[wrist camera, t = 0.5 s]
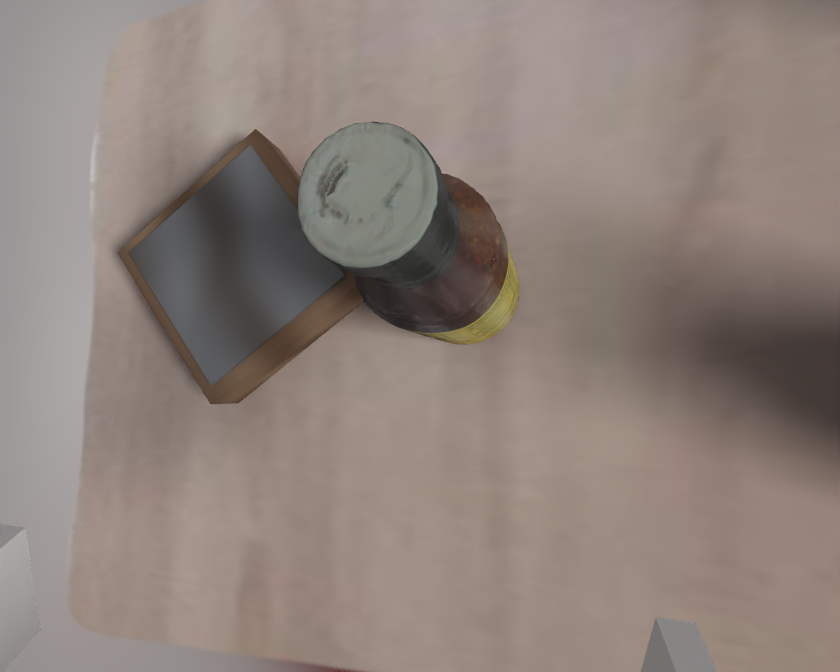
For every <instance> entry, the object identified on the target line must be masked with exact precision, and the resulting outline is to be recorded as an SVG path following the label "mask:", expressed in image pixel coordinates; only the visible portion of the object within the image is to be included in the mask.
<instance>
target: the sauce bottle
mask: <svg viewBox="0 0 840 672" xmlns="http://www.w3.org/2000/svg"><path fill="white" fill-rule="evenodd" d="M297 213H298V218H299V221H300V224H301V228H302V232H303V234H304V236H305V237H306V239H307V240H308V242H309V243H310V245H311V246H312V247H313V248H314V249H315V250H316V251H317V252H318V253H320V254H321V255H322V256H323V257H324V258H325V259H327V260H328V261H330V262H332V263H333V264H335V265H336V266H337V267H338V268H340V269H342V270H344V271H347V272H349V273H351V274H354V279H355V283H356V285H357V288H358V290H359V293H360V295H361V296H362V298H363V299H364V301H365V302H366V304H367V305H368V306H369V307H370V308H371V309H372V310H373V311H374V312H375V313H376V314H377V315H378V316H379V317H381V318H382V319H384V320H385V321H387V322H389V323H391V324H392V325H394V326H397V327H399V328H402V329H405V330H408V331H411V332H415V333H418V334H421V335H424V336H427V337H431V338H435V339H438V340H441V341H445V342H449V343H453V344H461V345H468V344H475V343H478V342H481V341H484V340H486V339H488V338H490V337H492V336H494V335H495V334H497V333H498V332H499V331H501V330H502V329H503V328H504V327H505V326H506V325H507V324H508V323H509V321H510V319H511V317H512V316H513V314H514V311H515V309H516V306H517V303H518V300H519V279H518V274H517V271H516V268H515V265H514V262H513V259H512V256H511V253H510V250H509V247H508V244H507V241H506V238H505V235H504V232H503V230H502V228H501V226H500V224H499V223H498V222H497V220H496V216H495V215H494V213H493V211H492V210H491V208H490V206H489V204H488V203H487V202H486V201H485V199H484V198H483V196H482V195H480V194H479V193H478V192H476V190H475V189H474V188H472V187H470V186H469V185H468V184H467V183H465V182H463V181H462V180H460V179H459V178H456V177H453V176H450V175H448V174H442V173H441V170H440V168H439V166H438V165H437V164H436V162H435V160H434V159H433V157H432V156H431V154H430V153H429V151H428V150H427V149H426V148H425V146H424V145H423V144H422V143H421V142H420V141H419V140H418V139H417V138H416V137H415V136H414V135H413V134H411V133H410V132H408V131H406V130H405V129H403V128H401V127H398V126H396V125H393V124H389V123H378V122H368V123H355V124H353V125H350V126H347V127H345V128H342V129H340V130H339V131H337V132H336V133H334V134H332V135H331V136H329V137H327V138H326V139H325V140H324V141H323V142H322V143H321V144H320V145H319V146H318V147H317V148H316V149H315V150H314V151H313V152H312V154H311V156H310V157H309V159H308V160H307V161H306V164H305V166H304V168H303V172H302V176H301V178H300V181H299V187H298V193H297Z"/></svg>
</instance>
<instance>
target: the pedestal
mask: <svg viewBox="0 0 840 672" xmlns="http://www.w3.org/2000/svg"><path fill="white" fill-rule="evenodd" d="M299 181H300V177H299V175H298V174H297V173H296V171H295V170H294V168H293V167H292V166H291V164H290V163H289V162H288V160H287V159H286V158H285V156H284V155H283V153H282V152H281V151H280V149H279V148H278V147H276V146H275V145H274V144H273V143H272V142H270V141H269V140H268V139H267V138H266V137H265V136H263V135H262V134H261V133H260V132H259V131H257V130H256V129H255V130H254V131H253V132H252V133H251V134H249V135H248V136H247V137H246V138H245V139H244V140H243V141H242V142H240V143H239V144H238V145H237V146H236V147H235V148H234V149H233V150H232V151H230V152H229V153H228V154H227V155H226V156H225V157H224V158H223V159H221V160H220V161H219V162H218V163H217V164H216V165H215V166H214V167H213V168H211V169H210V170H209V171H208V172H207V173H206V174H205V175H204V176H202V177H201V178H200V179H199V180H198V181H197V182H196V183H195V184H194V185H192V186H191V187H190V188H189V189H188V190H187V191H186V192H185V193H183V194H182V195H181V196H180V197H179V198H178V199H177V200H176V201H175V202H173V203H172V204H171V205H170V206H169V207H168V208H167V209H166V210H164V211H163V212H162V213H161V214H160V215H159V216H158V217H157V218H155V219H154V220H153V221H152V222H151V223H150V224H149V225H148V226H147V227H145V228H144V229H143V230H142V231H141V232H140V233H139V234H138V235H136V236H135V237H134V238H133V239H132V240H131V241H130V242H129V243H128V244H126V245H125V246H124V247H123V248H122V249H121V250H120V251H119V252H117V253H118V254H119V256H120V258H121V259H122V261H123V263H124V264H125V266H126V267H127V269H128V271H129V272H130V274H131V276H132V277H133V279H134V280H135V282H136V284H137V285H138V287H139V289H140V290H141V292H142V293H143V295H144V297H145V298H146V300H147V302H148V303H149V305H150V306H151V308H152V310H153V311H154V313H155V315H156V316H157V318H158V319H159V321H160V323H161V324H162V326H163V328H164V329H165V331H166V332H167V334H168V336H169V337H170V339H171V341H172V342H173V344H174V345H175V347H176V349H177V350H178V352H179V354H180V355H181V357H182V358H183V360H184V362H185V363H186V365H187V367H188V368H189V370H190V371H191V373H192V375H193V376H194V378H195V380H196V381H197V383H198V384H199V386H200V388H201V389H202V391H203V393H204V394H205V396H206V397H207V399H208V401H209V402H210V404H230V403H239V402H240V401H241V400H243V399H244V398H245V397H246V396H248V395H249V394H250V393H251V392H253V391H254V390H255V389H256V388H257V387H259V386H260V385H261V384H262V383H264V382H265V381H266V380H267V379H269V378H270V377H271V376H272V375H273V374H275V373H276V372H277V371H278V370H280V369H281V368H282V367H283V366H285V365H286V364H287V363H288V362H290V361H291V360H292V359H293V358H294V357H296V356H297V355H298V354H299V353H301V352H302V351H303V350H304V349H306V348H307V347H308V346H309V345H311V344H312V343H313V342H314V341H315V340H317V339H318V338H319V337H320V336H322V335H323V334H324V333H325V332H327V331H328V330H329V329H330V328H331V327H333V326H334V325H335V324H336V323H338V322H339V321H340V320H341V319H343V318H344V317H345V316H346V315H348V314H349V313H350V312H351V311H352V310H354V309H355V308H356V307H357V306H359V305H360V304H361V303H362V302H364V299H363V298H362V296H361V295H360V293H359V290H358V288H357V285H356V283H355V279H354V274H351V273H349V272H347V271H344V270H342V269H340V268H338V267H337V266H336V265H335V264H333V263H332V262H330V261H328V260H327V259H325V258H324V257H323V256H322V255H321V254H320V253H318V252H317V251H316V250H315V249H314V248H313V247H312V246H311V245H310V243H309V242H308V240H307V239H306V237H305V236H304V234H303V232H302V228H301V224H300V221H299V218H298V213H297V193H298V187H299Z"/></svg>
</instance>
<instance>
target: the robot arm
mask: <svg viewBox="0 0 840 672" xmlns="http://www.w3.org/2000/svg"><path fill="white" fill-rule="evenodd" d="M40 630H41V628H40V621H39V615H38V608H37V602H36V596H35V589H34V582H33V577H32V569H31V563H30V556H29V550H28V544H27V537H26V531H25V528H22V527H15V526H9V525H1V524H0V672H3V671H4V670H5V668H7V667H8V665H9V664H10V663H11V662H12V661H13V660H14V659H15V658H16V657H17V655H18V654H19V653H20V652H21V651H22V650H23V649H24V648H25V646H26V645H27V644H28V643H29V642H30V641H31V640H32V639H33V638H34V637H35V635H36V634H37V633H38V632H39V631H40ZM641 672H717V670H716V667H715V665H714V663H713V661H712V659H711V656H710V654H709V652H708V650H707V648H706V645H705V643H704V641H703V639H702V637H701V634H700V632H699V630H698V628H697V625H696V623H691V622H684V621H677V620H670V619H663V618H656V619H655V622H654V626H653V629H652V633H651V637H650V640H649V644H648V647H647V651H646V655H645V658H644V662H643V665H642V669H641Z"/></svg>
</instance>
